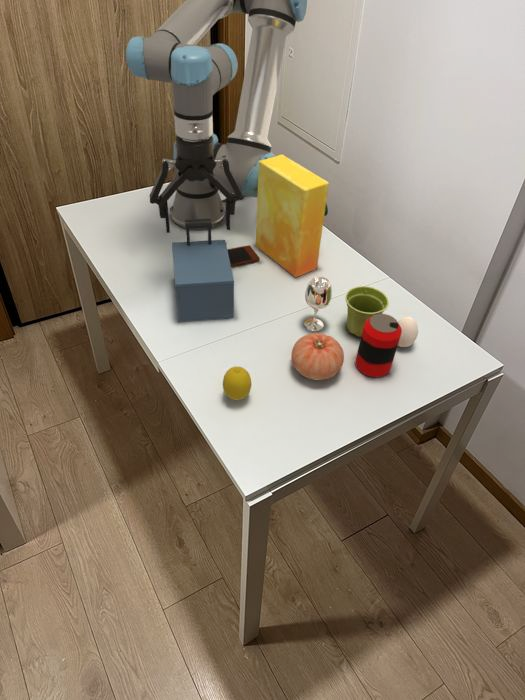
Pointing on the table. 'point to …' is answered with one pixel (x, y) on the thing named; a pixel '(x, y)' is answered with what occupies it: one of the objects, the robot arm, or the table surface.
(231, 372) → the lemon
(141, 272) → the table surface
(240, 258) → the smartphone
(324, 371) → the orange pumpkin
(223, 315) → the blue-grey hollow box
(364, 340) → the soda can
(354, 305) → the plant pot
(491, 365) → the table surface
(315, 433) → the table surface
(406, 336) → the egg
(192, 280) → the lid
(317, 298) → the wineglass
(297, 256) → the mottled yellow carton
